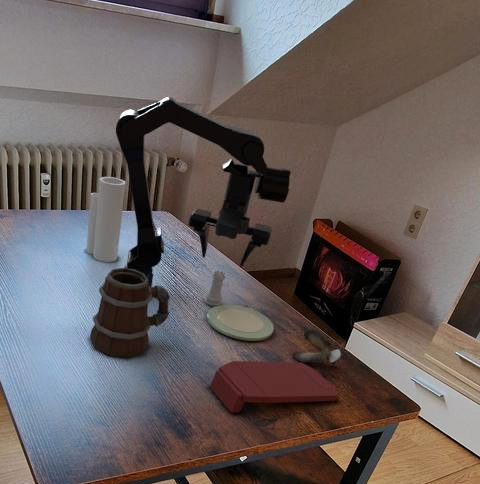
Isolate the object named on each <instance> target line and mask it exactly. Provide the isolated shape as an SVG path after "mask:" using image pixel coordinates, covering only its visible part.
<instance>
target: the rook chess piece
mask: <svg viewBox="0 0 480 484" xmlns="http://www.w3.org/2000/svg"><path fill="white" fill-rule="evenodd" d="M225 273H226V272H224V271H220V270H214V273H213V274H212V275H211V276H212V278H213V279H212V280H211V283H212V284H211V286H210V288H209V291H207V293H206V294H205V298H204V303H205V304H207V305H208V306H211V307H216V306H220V305H223V304H222V303H223V302H222V301H223V296H222V287H223V284H224V281H225V279H226V275H225Z"/></svg>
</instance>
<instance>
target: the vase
mask: <svg viewBox="0 0 480 484" xmlns="http://www.w3.org/2000/svg"><path fill="white" fill-rule="evenodd" d="M125 191H126V181H125V180H124V179H122V178H121V179H120V178H118V177H113V176H102V177H99V182H98V192H91V193H90V201H89V211H88V212H89V214H88V225H87V226H88V227H87V238H86V250H85V251H86V253H87V254H89V255H92V257H93V258H94V259H95V260H98V261H100V262H104V263H111V262H116V261H117V260H118V253H119V244H120V237H121V236H120V235H121V228H122V226H121V225H122V218H123V209H124V201H125V193H126V192H125Z"/></svg>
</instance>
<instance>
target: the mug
mask: <svg viewBox="0 0 480 484" xmlns="http://www.w3.org/2000/svg"><path fill="white" fill-rule="evenodd" d="M98 292H99V294H100V296H101V298H100V301H99V307H98V311H97V313H96V314H95V315H94V316H92V321H93V323H94V325H93V327H92V328H91V331H90V336H89V337H90V341H91V343H92V345H93V348H94V349H96V350H98V351H100V352H102V353H103V354H104V355H106V356H110V357H116V358H124V359H125V358H126V359H129V358H132V357H136V356H140V355H143V354H144V352H145V350H146V349H147V348H148V346H149V340H150V338H149V334H148V332H149V330H150V329H151V327H153V326H155V327H159V326H161V325H162V324H163V323H165V322H166V320H167V319H168V318H169V315H170V311H169V300H170V299H171V297H170V294H169V292H168V291H167V289H166V288H165V287H163V286H162V285H158V284H156V285H154V286H153V287H150V286H149V283H148V279H147V278H146V276H145V275H144V274H143V273H141V272H139V271H136V270H134V269H127V268H124V267H119V268H112V269H111V270H110V271H109V272H108V273H107V275H106V276H105V279H104V281H103V284H102V285H101V286H100V287H99V288H98ZM153 298H155V299H156V300H157V301H158V309H157V310H156V313H154V314H153V313H152V315H151V316H149V315H148V311H149V303H150V302H151V301H152V299H153Z"/></svg>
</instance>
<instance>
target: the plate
mask: <svg viewBox="0 0 480 484" xmlns="http://www.w3.org/2000/svg"><path fill="white" fill-rule="evenodd" d="M206 316H207V317H206V319H207V320H206V321H207V322H208V324H209V325H210V326H211V327H212V328H213V329H214V330H216V331H217V332H219V333H220V334H222V335H224V336H228V337H230V338H232V339H237V340H241V341H249V342H251V341H252V342H254V341H255V342H256V341H263V340H266V339H268V338H270V337H271V336H272V335H273V333H274V329H275V328H274V327H275V326H274V323H273V322H272V320H270V319H269V317H267V316H266V315H264V314H262V313H261V312H259V311H257V310H255V309H252V308H250V307H246V306H241V305H236V304H220V305H219V306H212V308H210V309H208V312H207V314H206Z"/></svg>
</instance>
